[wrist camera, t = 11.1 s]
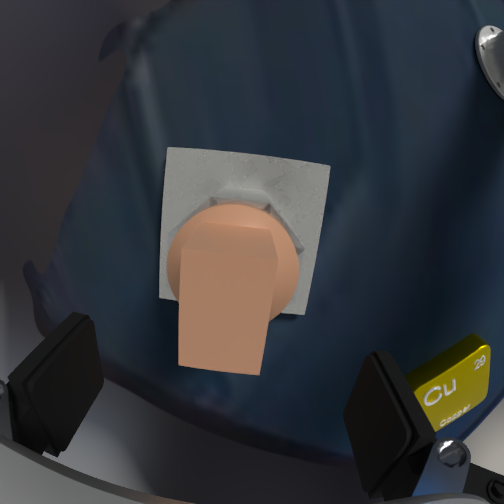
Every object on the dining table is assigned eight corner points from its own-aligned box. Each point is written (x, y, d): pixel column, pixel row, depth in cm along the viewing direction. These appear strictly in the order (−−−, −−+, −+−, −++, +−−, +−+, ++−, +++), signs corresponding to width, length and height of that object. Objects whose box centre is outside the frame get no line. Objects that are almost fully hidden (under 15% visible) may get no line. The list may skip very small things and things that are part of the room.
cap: (298, 205, 22) (335, 237, 12) (281, 307, 25) (298, 394, 14) (185, 192, 22) (133, 214, 12) (179, 295, 24) (138, 375, 14)
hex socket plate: (326, 165, 30) (367, 166, 18) (302, 308, 34) (322, 370, 23) (171, 147, 29) (127, 139, 18) (163, 292, 33) (127, 347, 22)
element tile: (409, 426, 41) (418, 444, 37) (398, 375, 38) (410, 395, 33) (476, 384, 40) (488, 399, 35) (476, 327, 36) (493, 342, 31)
